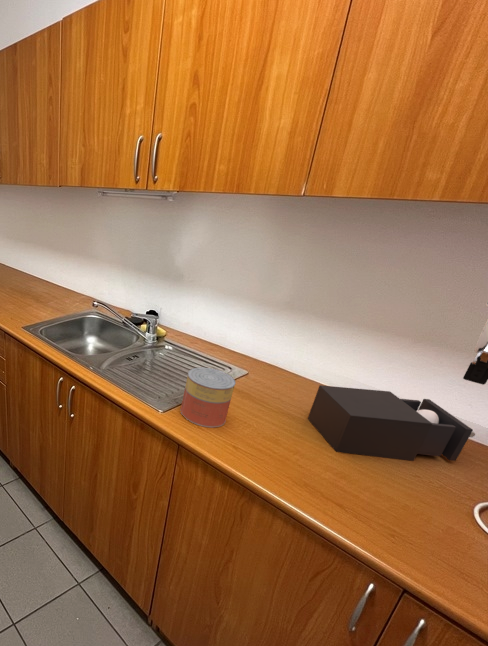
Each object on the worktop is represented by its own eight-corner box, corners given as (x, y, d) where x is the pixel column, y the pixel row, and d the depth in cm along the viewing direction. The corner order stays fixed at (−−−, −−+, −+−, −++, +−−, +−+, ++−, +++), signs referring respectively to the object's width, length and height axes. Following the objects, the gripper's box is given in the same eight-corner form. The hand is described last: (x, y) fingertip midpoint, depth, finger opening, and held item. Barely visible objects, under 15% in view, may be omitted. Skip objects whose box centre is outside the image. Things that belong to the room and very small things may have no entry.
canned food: (234, 419, 107) (245, 381, 103) (207, 432, 102) (217, 393, 98) (197, 399, 116) (205, 363, 112) (171, 410, 112) (178, 373, 107)
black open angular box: (433, 430, 100) (448, 400, 97) (476, 463, 89) (495, 432, 86) (349, 421, 104) (360, 392, 101) (380, 452, 93) (395, 421, 90)
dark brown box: (375, 425, 104) (390, 391, 100) (413, 461, 92) (432, 423, 88) (307, 418, 107) (319, 385, 103) (335, 451, 95) (350, 415, 91)
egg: (400, 429, 95) (426, 407, 92) (391, 423, 100) (416, 401, 97) (424, 444, 93) (452, 422, 90) (414, 437, 98) (440, 415, 95)
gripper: (540, 317, 74) (496, 394, 81) (552, 299, 83) (512, 370, 89) (479, 306, 80) (444, 379, 87) (496, 290, 88) (463, 358, 95)
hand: (478, 375), depth 88 cm, fingers open, 9 cm apart
